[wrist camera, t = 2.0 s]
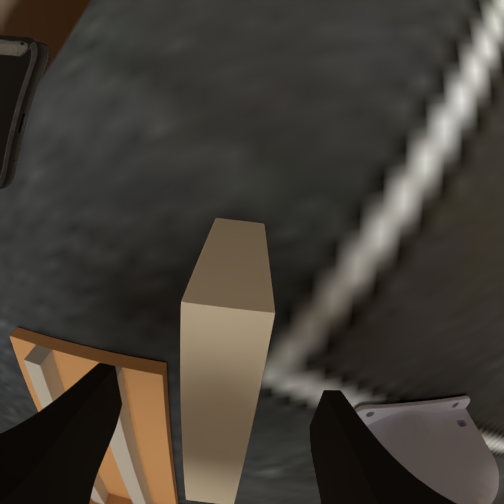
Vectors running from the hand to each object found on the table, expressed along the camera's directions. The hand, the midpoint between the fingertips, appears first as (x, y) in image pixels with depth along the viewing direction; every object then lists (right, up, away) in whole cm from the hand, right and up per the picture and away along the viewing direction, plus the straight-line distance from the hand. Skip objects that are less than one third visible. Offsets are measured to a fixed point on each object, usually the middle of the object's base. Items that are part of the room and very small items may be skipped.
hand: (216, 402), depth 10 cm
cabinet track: (-9, -9, +9) cm, 16 cm away
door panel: (0, +2, +5) cm, 5 cm away
